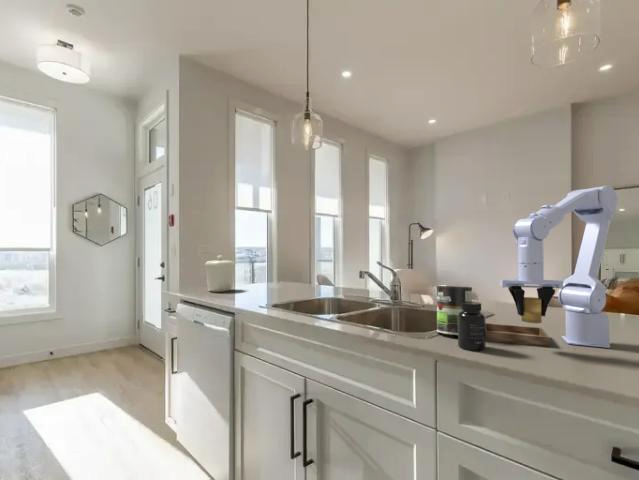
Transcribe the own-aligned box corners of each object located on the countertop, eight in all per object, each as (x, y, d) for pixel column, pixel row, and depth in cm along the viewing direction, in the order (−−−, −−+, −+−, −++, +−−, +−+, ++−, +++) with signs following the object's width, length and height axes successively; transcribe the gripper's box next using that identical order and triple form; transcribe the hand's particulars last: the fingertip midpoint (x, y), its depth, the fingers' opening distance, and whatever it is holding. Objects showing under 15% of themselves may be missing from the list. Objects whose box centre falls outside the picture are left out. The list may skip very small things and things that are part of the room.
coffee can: (451, 335, 100) (450, 286, 102) (429, 330, 110) (429, 285, 112) (480, 335, 103) (479, 287, 105) (457, 330, 113) (456, 286, 115)
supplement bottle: (453, 344, 96) (453, 300, 96) (477, 343, 97) (476, 300, 97) (465, 351, 89) (465, 304, 90) (491, 351, 90) (490, 304, 90)
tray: (542, 336, 104) (541, 327, 104) (549, 347, 93) (549, 337, 94) (482, 331, 111) (482, 322, 111) (483, 340, 100) (483, 331, 100)
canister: (223, 293, 196) (223, 256, 196) (197, 292, 202) (197, 255, 203) (241, 289, 213) (241, 255, 213) (216, 288, 219) (217, 254, 219)
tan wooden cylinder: (541, 320, 93) (540, 297, 93) (542, 323, 89) (541, 300, 89) (521, 318, 95) (521, 296, 95) (521, 322, 91) (521, 299, 91)
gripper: (554, 263, 95) (554, 313, 95) (496, 262, 97) (496, 311, 97) (567, 264, 88) (567, 318, 88) (504, 264, 91) (505, 316, 90)
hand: (531, 315), depth 92 cm, fingers closed on tan wooden cylinder, 4 cm apart
